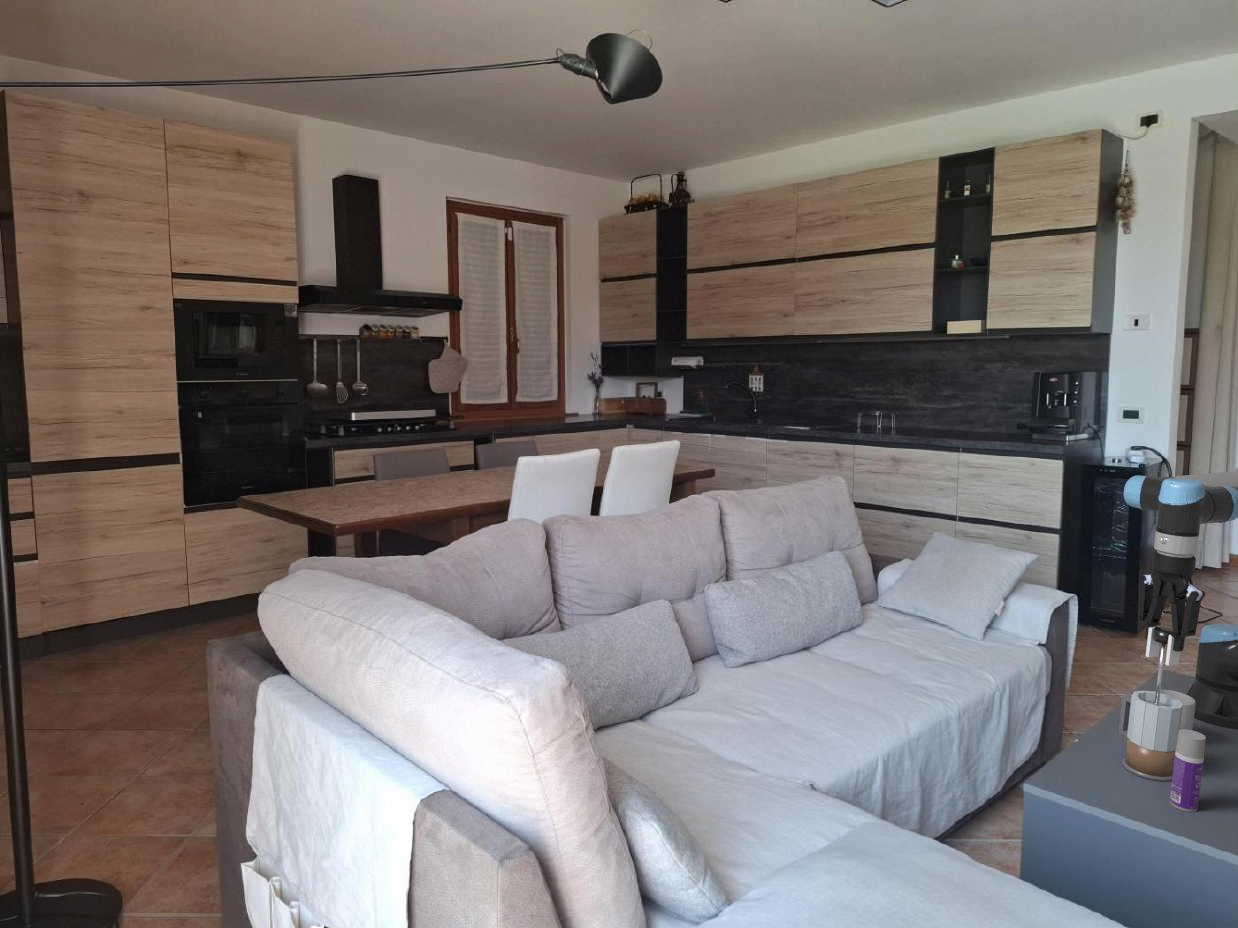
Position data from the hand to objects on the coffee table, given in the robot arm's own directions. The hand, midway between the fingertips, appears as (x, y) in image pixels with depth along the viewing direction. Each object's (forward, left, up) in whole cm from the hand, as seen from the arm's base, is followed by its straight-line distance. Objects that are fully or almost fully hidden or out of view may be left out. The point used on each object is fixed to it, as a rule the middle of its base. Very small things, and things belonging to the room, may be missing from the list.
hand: (1161, 660), depth 177 cm
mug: (-18, -10, -25) cm, 32 cm away
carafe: (0, -1, -25) cm, 25 cm away
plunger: (0, 0, -11) cm, 11 cm away
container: (+6, +13, -25) cm, 29 cm away
